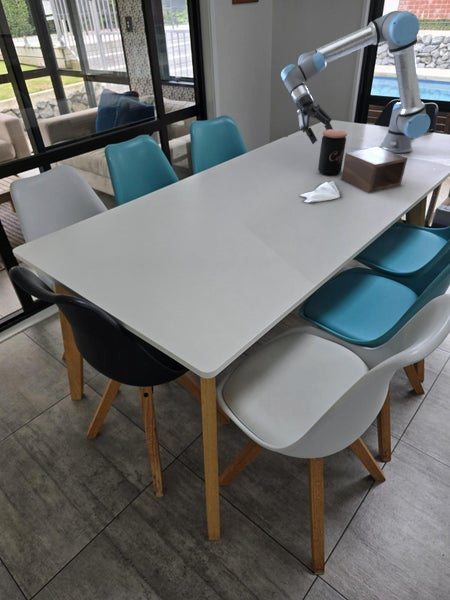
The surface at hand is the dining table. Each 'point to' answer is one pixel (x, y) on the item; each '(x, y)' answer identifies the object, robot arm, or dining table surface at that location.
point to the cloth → (322, 193)
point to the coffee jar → (332, 152)
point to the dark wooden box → (373, 169)
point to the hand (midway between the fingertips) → (324, 139)
